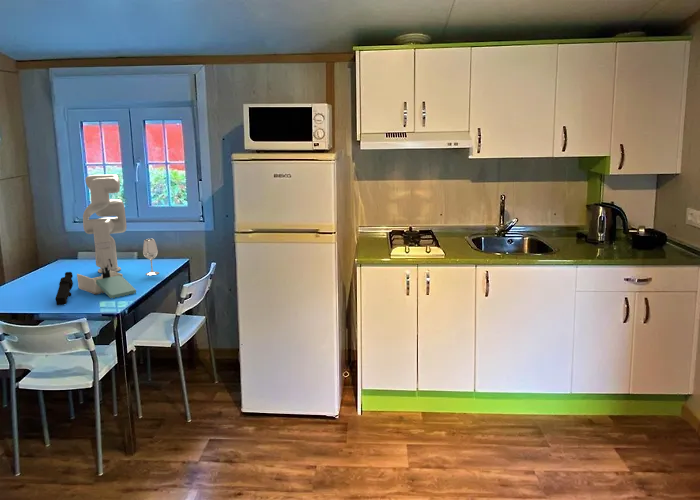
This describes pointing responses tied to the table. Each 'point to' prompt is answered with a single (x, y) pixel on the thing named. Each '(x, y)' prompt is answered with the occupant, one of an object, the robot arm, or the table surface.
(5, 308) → the table surface
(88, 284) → the box
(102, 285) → the lid
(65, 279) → the toy gun
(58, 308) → the table surface
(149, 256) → the wineglass
